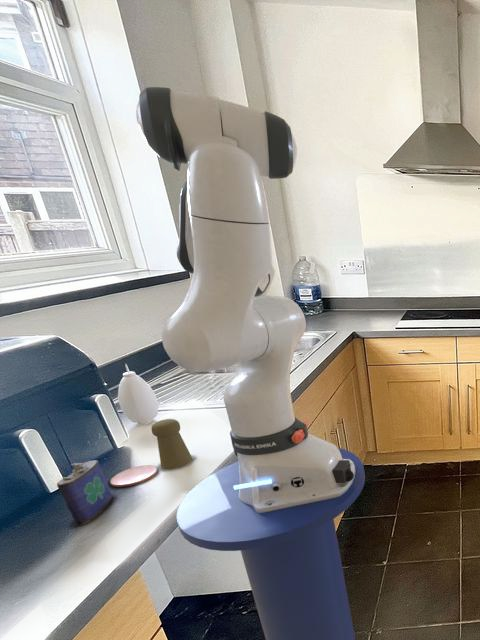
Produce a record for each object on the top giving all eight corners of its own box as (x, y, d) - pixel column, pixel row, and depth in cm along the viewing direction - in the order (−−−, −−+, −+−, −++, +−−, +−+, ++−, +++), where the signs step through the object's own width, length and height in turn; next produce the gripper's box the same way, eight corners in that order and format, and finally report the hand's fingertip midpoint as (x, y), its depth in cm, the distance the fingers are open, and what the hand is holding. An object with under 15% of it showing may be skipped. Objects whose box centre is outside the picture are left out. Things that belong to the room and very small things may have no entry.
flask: (101, 497, 86) (83, 452, 82) (118, 495, 87) (101, 450, 83) (70, 526, 78) (48, 477, 74) (89, 523, 79) (68, 475, 75)
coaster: (165, 465, 98) (164, 463, 98) (143, 485, 90) (143, 482, 90) (126, 469, 96) (125, 467, 96) (101, 489, 89) (100, 486, 89)
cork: (185, 467, 97) (172, 425, 93) (155, 471, 96) (140, 428, 92) (197, 455, 103) (185, 414, 99) (168, 458, 101) (155, 417, 97)
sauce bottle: (142, 430, 115) (121, 368, 109) (120, 427, 116) (98, 366, 110) (169, 418, 122) (151, 360, 116) (148, 416, 124) (129, 358, 117)
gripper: (193, 301, 108) (163, 347, 103) (251, 307, 101) (222, 356, 96) (214, 315, 113) (187, 359, 108) (270, 322, 107) (244, 369, 102)
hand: (204, 358), depth 102 cm, fingers open, 8 cm apart
